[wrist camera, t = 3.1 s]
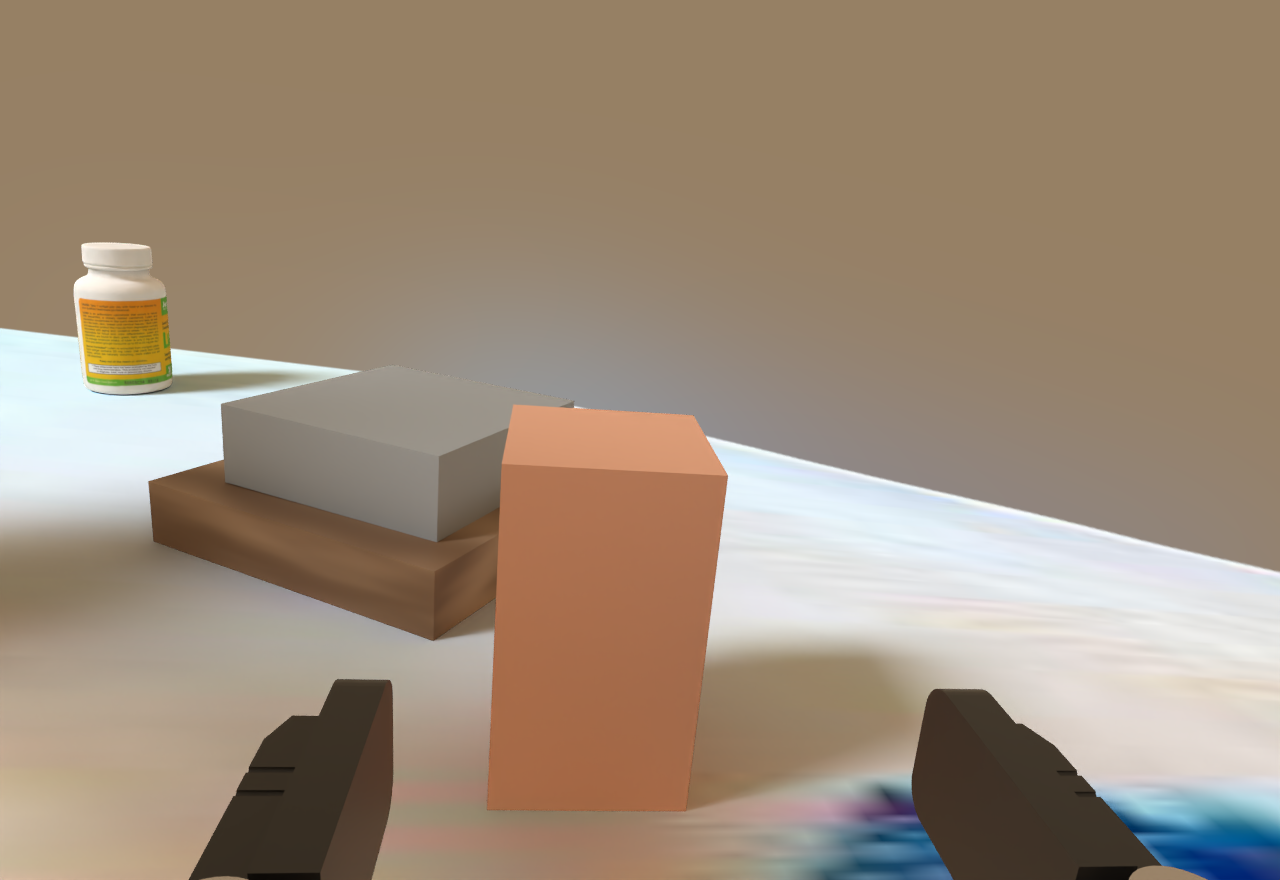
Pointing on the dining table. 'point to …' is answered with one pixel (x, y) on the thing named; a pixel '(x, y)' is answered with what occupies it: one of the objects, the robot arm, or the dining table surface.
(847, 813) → the dining table surface
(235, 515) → the walnut base block
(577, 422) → the terracotta block
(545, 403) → the slate top block
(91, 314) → the supplement bottle
